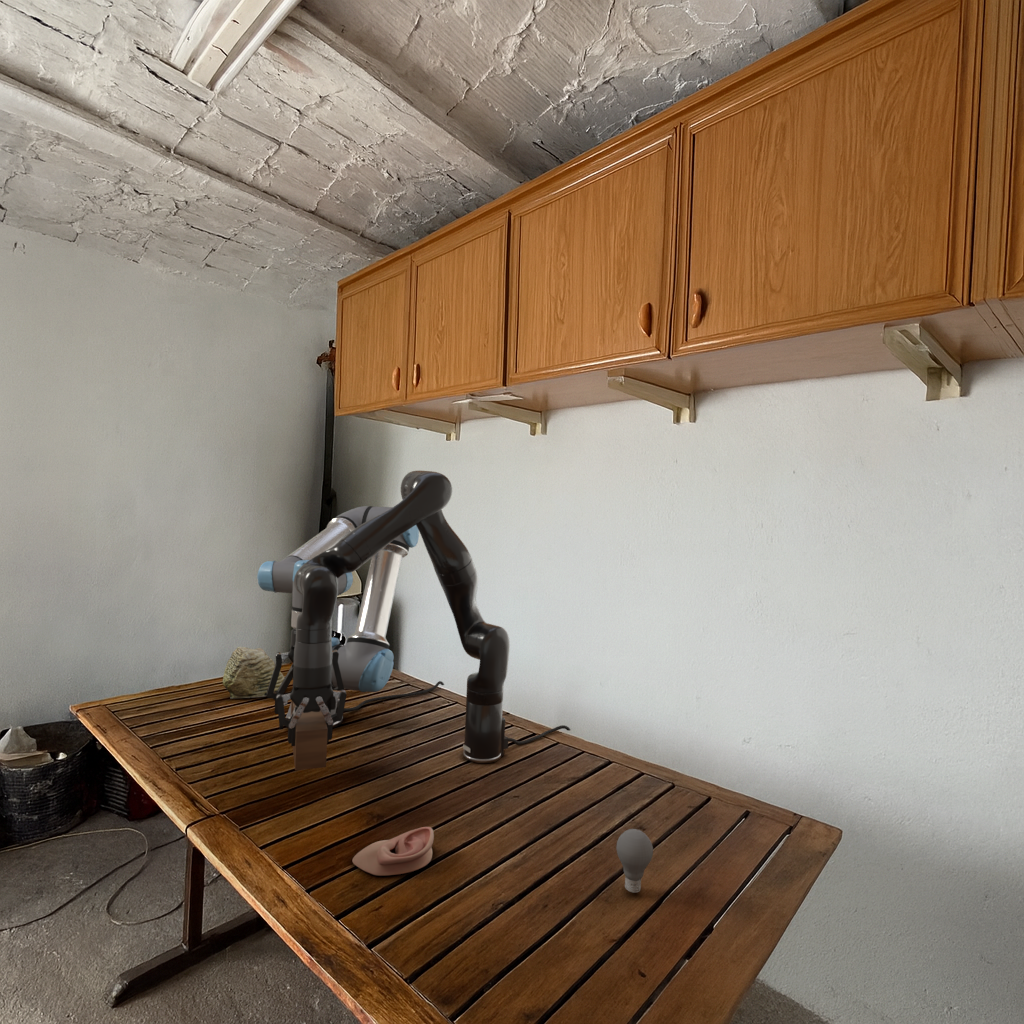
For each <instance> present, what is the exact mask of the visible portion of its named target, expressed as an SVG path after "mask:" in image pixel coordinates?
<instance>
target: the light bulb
mask: <svg viewBox="0 0 1024 1024" xmlns="http://www.w3.org/2000/svg"><path fill="white" fill-rule="evenodd" d="M615 849H616V854H617V857H618V859H619V861H620V863H621V865H622V867H623V873H624V874H623V875H624V876H625V878H624V888H625V890H627V891H628V892H630V893H634V894H635V893H639V892H640V891H641V889H642V887H641V886H642V879H643V877H644V875H645V871H646V868H647V867H648V866H649V864H650V863H651V861H652V859H653V855H654V847H653V843H652V841H651V838H649V836H648V835H647V834H646V833H645V832H643V831H642V830H641V829H636V828H629V829H627V830H625V831H623V832H622V833H621V834H620V835H619V837H618V839H617V841H616V847H615Z"/></svg>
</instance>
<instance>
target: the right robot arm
mask: <svg viewBox="0 0 1024 1024" xmlns="http://www.w3.org/2000/svg"><path fill="white" fill-rule="evenodd" d="M452 495H453V485H452V483H451V481H450V479H449V478H448V477H447V476H446V475H444V474H443V473H441V472H437V471H432V470H431V471H430V470H413V471H410V472H407V474H405V475H404V477H403V478H402V479H401V483H400V496H401V499H402V500H401V501H399V502H398V503H397V504H395V505H394V506H392V507H393V508H391V509H389V510H388V511H386V512H384V513H382V514H380V515H378V516H376V517H374V518H372V519H370V520H368V521H367V522H365V523H363V524H361V525H360V526H358V527H357V528H355V529H354V530H353V531H351V532H350V533H349V534H348V535H346V536H345V537H344V538H342V539H341V540H340V541H339V542H338V543H337V544H335V545H334V546H333V547H331V548H330V549H328V550H326V551H324V552H322V553H321V554H319V555H317V556H315V557H314V558H312V559H311V560H309V561H308V562H306V563H305V564H304V565H303V566H301V567H300V568H299V570H298V571H297V572H296V574H295V577H294V586H295V588H296V590H297V591H298V592H299V593H300V594H302V595H303V596H304V599H303V608H302V612H301V613H300V614H299V615H298V617H297V622H296V643H295V649H294V657H293V661H294V667H293V679H292V689H291V691H290V692H289V693H284V694H283V695H282V694H277V696H276V700H277V709H278V714H277V715H278V725H279V724H280V726H283V727H286V728H287V742H288V744H291V747H293V746H295V731H296V728H295V725H296V723H297V721H298V719H299V718H300V716H301V715H302V713H303V712H304V713H308V712H311V711H313V712H320V710H321V712H322V714H323V716H324V718H325V720H326V725H327V729H328V731H327V744H329V742H330V741H331V740H332V739H333V729H334V728H333V724H334V723H335V722H337V721H341V720H342V717H343V718H344V713H345V712H344V708H345V706H346V701H347V697H348V696H347V695H348V694H347V692H346V689H344V690H343V689H342V690H340V691H337V690H333V689H332V687H331V676H332V640H331V639H332V637H333V616H334V613H335V609H336V605H337V600H338V596H339V595H338V580H337V578H339V577H340V576H342V575H343V574H345V573H350V572H352V573H353V572H356V571H357V570H359V569H360V568H361V567H362V566H364V564H366V563H368V562H369V560H371V559H372V557H373V556H374V555H375V554H377V553H378V552H379V551H380V550H381V549H383V548H384V547H385V546H386V545H388V544H389V543H390V542H392V541H393V540H394V539H396V538H397V537H398V536H400V535H401V534H403V533H404V532H406V531H407V530H409V529H410V528H412V527H413V526H415V525H416V526H417V528H418V530H419V535H420V536H421V539H422V541H423V543H424V547H425V549H426V552H427V554H428V557H429V559H430V562H431V564H432V567H433V569H434V572H435V575H436V577H437V579H438V582H439V585H440V586H441V588H442V591H443V593H444V595H445V597H446V598H445V599H446V600H447V603H448V606H449V608H450V610H451V614H452V616H453V619H454V622H455V625H456V629H457V632H458V636H459V639H460V642H461V646H462V647H463V650H464V652H465V653H466V654H467V655H468V656H469V657H470V658H473V659H476V660H479V665H478V671H477V672H476V671H475V672H472V673H470V674H469V675H468V676H467V677H466V678H467V679H466V698H465V716H464V717H465V718H464V719H465V721H464V741H463V742H464V743H463V744H462V749H463V753H462V754H463V755H462V756H463V758H464V759H465V760H466V761H469V762H471V763H476V764H490V763H494V762H498V761H499V760H500V759H501V757H504V756H505V755H504V754H505V750H506V749H509V742H512V743H513V744H514V745H516V746H517V745H518V746H521V745H527V744H529V743H532V742H534V741H537V740H539V739H542V738H543V737H545V736H547V735H549V734H552V733H554V732H556V731H559V730H562V729H564V730H566V731H571V728H570V727H569V726H567V725H558V726H556V727H553V728H550V729H547V730H545V731H543V732H541V733H540V734H538V735H536V736H533V737H531V738H528V739H525V740H516V739H515V738H512V737H508V736H506V718H505V717H504V716H503V712H504V687H505V686H504V685H505V682H506V679H507V676H508V671H509V661H510V660H509V659H510V651H511V649H510V646H511V644H510V642H511V641H510V636H509V633H508V631H507V630H506V629H505V628H504V627H503V626H500V625H496V624H492V623H488V622H487V621H485V619H484V618H483V616H482V614H481V611H480V608H479V605H478V602H477V593H478V586H479V575H478V570H477V568H476V567H475V563H474V561H473V558H472V555H471V553H470V551H469V549H468V547H467V546H466V545H465V543H464V542H463V540H462V539H461V538H460V537H459V535H458V534H457V533H456V532H455V531H454V529H453V528H452V527H451V525H450V524H449V522H448V521H447V519H446V518H445V515H444V513H443V509H444V508H445V507H446V506H447V505H448V504H449V503H450V501H451V499H452ZM337 595H338V596H337ZM332 696H334V697H335V700H336V701H337V707H336V713H335V714H333V715H331V714H330V712H329V710H328V707H327V705H326V704H327V703H328V702H329V700H330V699H331V698H332ZM290 700H292V701H293V703H294V704H295V705H296V706H295V708H294V710H293V713H292V715H291V717H290V719H289V718H286V711H285V706H287V705H288V703H289V701H290Z"/></svg>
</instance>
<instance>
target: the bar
mask: <svg viewBox="0 0 1024 1024" xmlns="http://www.w3.org/2000/svg"><path fill="white" fill-rule="evenodd" d="M290 700H291V699H290ZM290 704H291V715H292V713H293V710H294V708H295V706H296V705H295V704H294V703H293V701H292V700H291V701H290ZM295 728H296V731H295V746H292V754H293V761H294V762H293V763H294V771H303V770H305V771H306V770H311V769H321V768H327V757H328V756H327V755H328V743H327V731H328V729H327V725H326V721H325V718H324V716H323V714H322V712H321V710H320V712H313V711H311V712H308V713H304V712H303V713H302V715H301V716H300V718H299V719H298V721H297V723H296V725H295Z"/></svg>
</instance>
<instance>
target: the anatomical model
mask: <svg viewBox="0 0 1024 1024" xmlns="http://www.w3.org/2000/svg"><path fill="white" fill-rule="evenodd" d="M434 839H435V833H434V829H433V828H432V827H431V826H423V827H419V828H415V829H411V830H408V831H406V832H404V833H401V834H399V835H397V836H394V837H392V838H390V839H384V840H379V841H375V842H373V843H371V844H369V845H367V846H365V847H364V848H362V849H360V850H359V851H358V852H357V853H356V854H355V855H354V856H353V857H352V860H351V861H352V864H353V865H354V866H356V867H357V868H358V869H360V870H362V871H363V872H366V873H368V874H370V875H373V876H379V877H382V876H385V877H386V876H394V875H401V874H402V875H403V874H407V873H412V872H414V871H418V870H419V869H422V868H424V867H426V866H428V864H429V863H430V862H431V861H432V859H433V848H432V847H433V843H434Z"/></svg>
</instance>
